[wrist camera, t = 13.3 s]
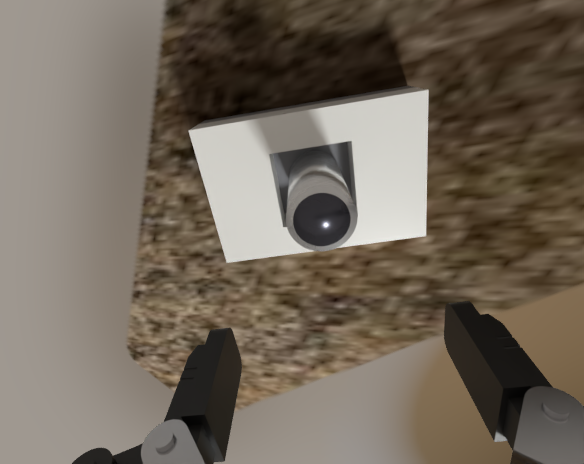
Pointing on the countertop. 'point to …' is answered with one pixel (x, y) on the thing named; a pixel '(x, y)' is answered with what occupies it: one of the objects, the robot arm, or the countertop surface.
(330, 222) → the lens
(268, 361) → the countertop surface
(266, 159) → the white slotted plate
